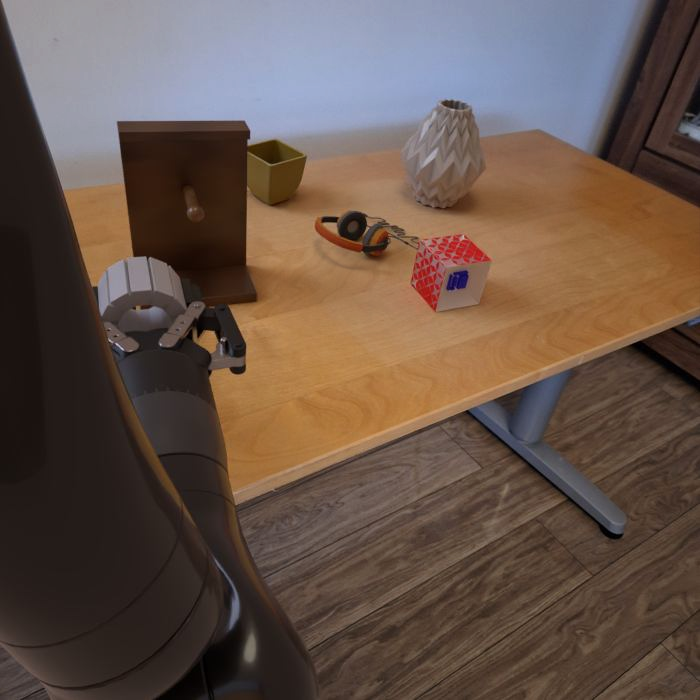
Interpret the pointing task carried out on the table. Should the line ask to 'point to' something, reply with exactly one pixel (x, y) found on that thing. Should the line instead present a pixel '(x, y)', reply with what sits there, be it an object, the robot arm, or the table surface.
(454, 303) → the red patterned cube
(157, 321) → the grey faceted tube
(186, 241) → the rack
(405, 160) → the vase
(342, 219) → the headphones
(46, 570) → the robot arm
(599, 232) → the table surface
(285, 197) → the flower pot
